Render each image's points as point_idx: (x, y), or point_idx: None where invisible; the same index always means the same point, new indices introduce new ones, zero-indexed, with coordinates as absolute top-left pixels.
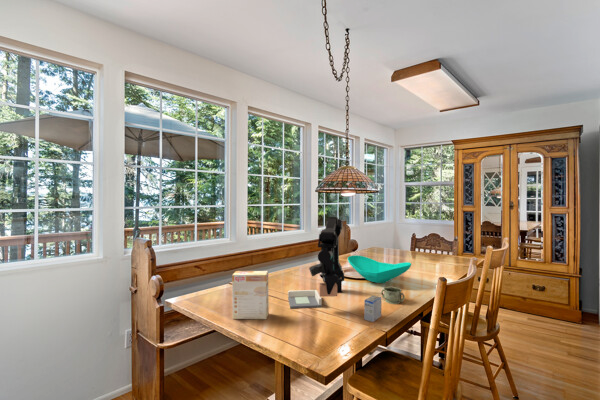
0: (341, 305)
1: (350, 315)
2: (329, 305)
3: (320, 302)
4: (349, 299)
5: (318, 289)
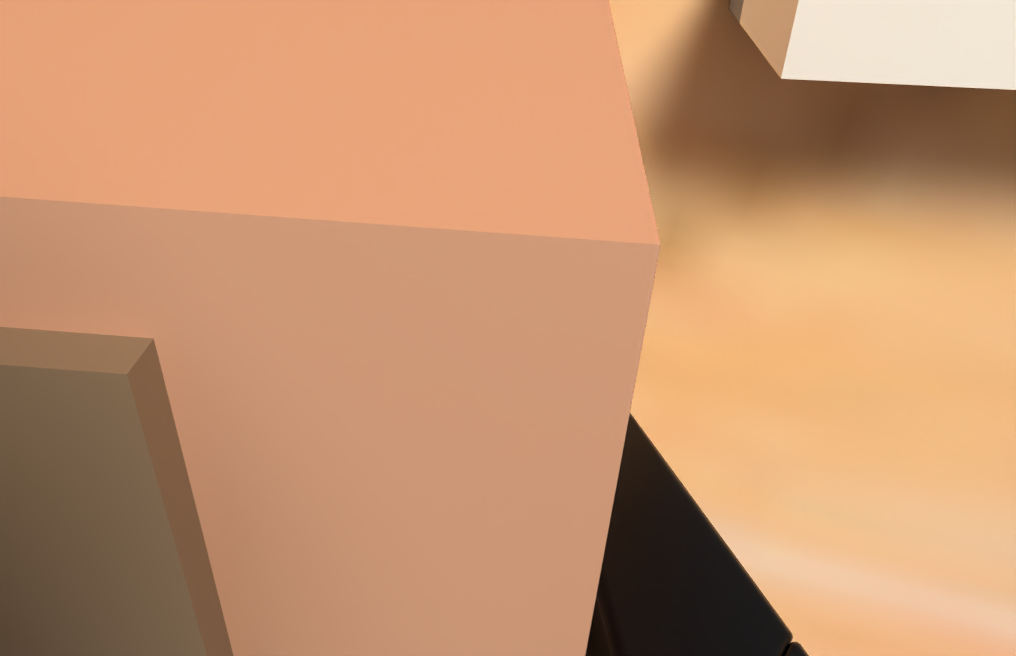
0: (705, 437)
1: None
2: (785, 230)
3: (765, 8)
4: (940, 611)
5: (577, 7)
